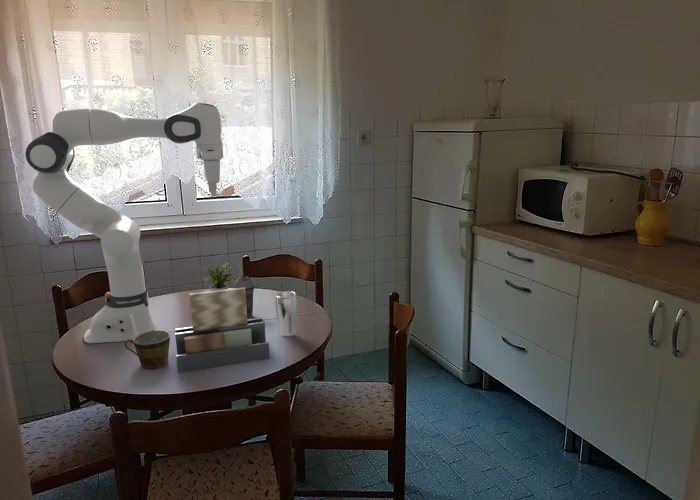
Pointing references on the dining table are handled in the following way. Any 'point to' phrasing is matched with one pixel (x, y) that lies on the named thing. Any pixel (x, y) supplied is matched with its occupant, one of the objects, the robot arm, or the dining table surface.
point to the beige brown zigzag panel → (218, 308)
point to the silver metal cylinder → (287, 312)
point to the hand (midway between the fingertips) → (212, 194)
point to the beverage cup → (246, 291)
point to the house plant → (218, 278)
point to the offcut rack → (224, 355)
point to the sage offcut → (237, 338)
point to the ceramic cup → (151, 349)
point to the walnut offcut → (204, 342)
